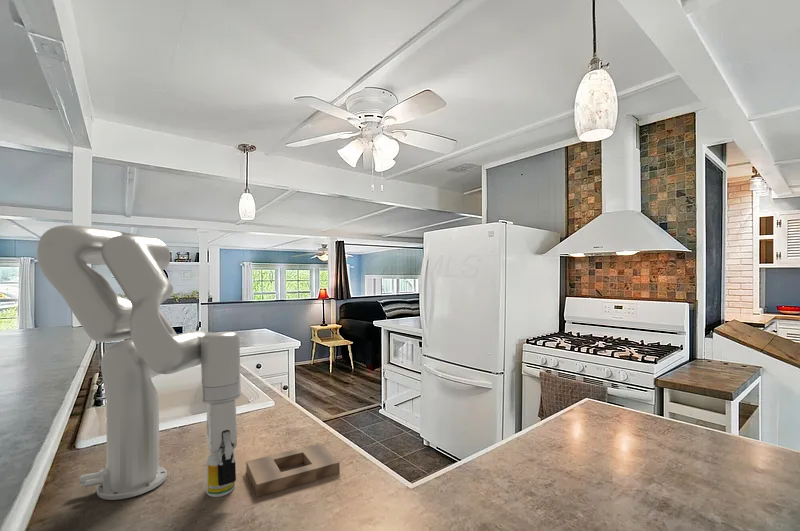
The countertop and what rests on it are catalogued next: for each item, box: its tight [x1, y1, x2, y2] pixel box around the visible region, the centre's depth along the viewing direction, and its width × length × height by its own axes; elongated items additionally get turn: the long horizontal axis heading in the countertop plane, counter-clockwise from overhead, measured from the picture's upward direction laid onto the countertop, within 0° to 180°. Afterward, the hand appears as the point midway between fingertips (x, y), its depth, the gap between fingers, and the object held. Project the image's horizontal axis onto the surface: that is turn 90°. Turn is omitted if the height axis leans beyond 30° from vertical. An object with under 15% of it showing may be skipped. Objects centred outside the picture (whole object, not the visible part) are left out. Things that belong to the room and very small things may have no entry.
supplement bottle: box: [206, 447, 236, 498], centre depth 83 cm, size 5×5×10 cm
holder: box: [245, 442, 341, 498], centre depth 90 cm, size 18×12×2 cm, turn 121°
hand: (223, 473), depth 83 cm, fingers open, 9 cm apart
